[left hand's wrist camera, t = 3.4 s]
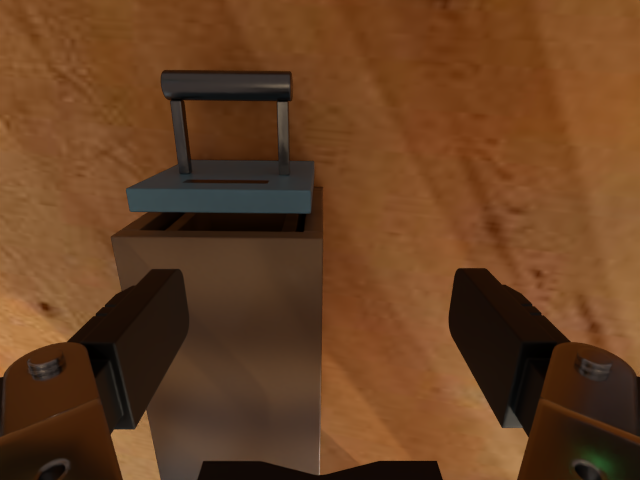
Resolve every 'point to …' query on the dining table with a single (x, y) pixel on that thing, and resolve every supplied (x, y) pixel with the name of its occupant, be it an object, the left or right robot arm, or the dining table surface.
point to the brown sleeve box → (236, 342)
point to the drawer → (229, 163)
